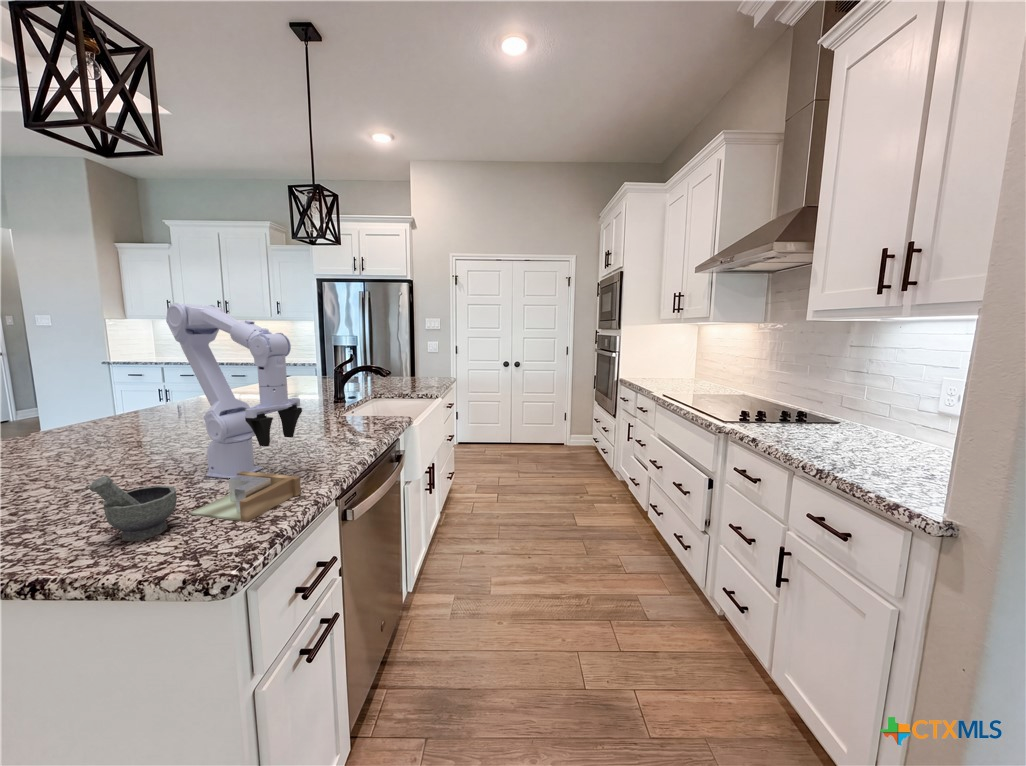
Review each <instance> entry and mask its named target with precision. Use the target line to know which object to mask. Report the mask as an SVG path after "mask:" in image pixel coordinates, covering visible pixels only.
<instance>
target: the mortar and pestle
mask: <svg viewBox="0 0 1026 766" xmlns="http://www.w3.org/2000/svg"><path fill="white" fill-rule="evenodd" d="M88 487H89V490H90V491H91V492H93V493H96V494H97V495H98V496H99V497H100V498H101V499H103V502H102V503H103V510H104V516H105V518H106V521H107V523H108V524H109V525H110V526H111V527H112V528H113V529H115V530H118V531H121V538H122V541H126V542H136V541H142V540H147V539H150V538H153V537H155V536H158V535H160V534H162V533H163V532H165V531H166V530H167V529H168V524H167V522H166V520H167V519H168V518H169V517H170V516H171V515H172V514H173V513H174V511H175V508H176V507H177V501H178V500H177V499H178V498H177V497H178V496H177V490H176V489H175V486H169V485H153V486H146V487H138V488H135V489H131V490H128V491H125V490H123V489H122V488H120V486H118V485H117V484H116V483H114V482H113V481H112V479H111V477H109V476H101V477H99V478H97V479H96V480H94V481H93V482H91V484H89V486H88Z"/></svg>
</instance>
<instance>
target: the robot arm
mask: <svg viewBox="0 0 1026 766" xmlns="http://www.w3.org/2000/svg"><path fill="white" fill-rule="evenodd" d="M166 323H167V324H166V325H167V326H168V328H169V329H170V332H171V333H172V336H173V338H174V340H175V341H176V342H178V343H179V345H180V348H181V350H182V352H183V353H184V355H185V357H186V359H187V361H188V363H189V365H190V367H191V369H192V371H193V373H194V375H195V377H196V379H197V382H198V383H199V386H200V387H201V389H202V391H203V394H204V395H205V398H206V399H207V402H208V403H209V405H210V408H208V410H207V411H206V412H205V413H204V416H203V420H204V422H205V425H206V432H207V435H208V437H209V438H210V439H211V441H210V442H209V444H208V446H207V448H206V449H207V450H206V456H207V457H206V458H207V465H208V466H207V467H208V472H207V473H206V474H205V476H206V477H210V478H211V477H212V478H220V479H221V478H222V479H229V478H232V477H235V476H237V473H239V472H242V471H245V472H256V473H257V472H259V471H261V470H262V469H264V466H261V465H260V466H259V465H255V460H254V458H255V457H254V446H253V438H254V437H255V438H256V440H257V442H258V444H259V447H269V446H270V444H271V427H272V422H273V420H274V417H271V416H267V415H268V414H272V413H276V412H277V413H278V416H279V418H280V421H281V425H282V426H281V428H282V434H283V437H284V438H294V436H295V430H296V427H297V422H298V419H299V417H300V416H301V414H302V412H303V408H302V407H300V406H301V398H297V397H292V398H289V393H288V379H287V377H288V375H287V363H286V357H288V355H290V352H291V348H292V344H291V341H290V338H289V337H287V335H285V334H284V333H283V332H276V333H272V332H271V331H269V329H268V328H266V327H261V326H259V325H257V324H255V321H254V320H252V319H245V320H240V321H239V320H237V319H236V318H235V317H233V316H230V315H229V314H227V313H225V312H224V311H223V307H218V306H217V305H216V304H215V305H214V304H209V305H202V304H190V303H189V304H188V303H187V304H185V303H178V302H173V303H171V304H170V305H169V307H168V309H167V311H166ZM219 330H220V331H223V332H225V333H227V334H229V335H230V338H231V340H232V341H233V342H235V343H236V344H238V345H240V346H242V347H244V348H246V349H247V350H249V351H250V354H251V355H252V357H253V363H254V364H255V367H257V377H258V378H257V379H258V391H259V392H258V393H259V401H260V402H259V404H257V405H254V406H252V407H250V405H249V403H248V402H245V401H243V400H240V399H238V398H236V396H235V394H234V392H233V391H232V389H231V387H230V385H229V383H228V381H227V379H226V377H225V375H224V373H223V371H222V369H221V367H220V366H219V364H218V361H217V359H216V358H215V356H214V353H213V351H212V350H211V347H210V343H211V342H213V341H215V340H216V338H217V335H218V333H219Z"/></svg>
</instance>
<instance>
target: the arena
mask: <svg viewBox="0 0 1026 766" xmlns="http://www.w3.org/2000/svg"><path fill="white" fill-rule="evenodd" d="M237 475H243V476H253V477H263V478H271V486H270V487H267V488H265V489H263V490H261V491H259V492H257V493H255V494H253V495H251V496H249V497H247V498H245V499H243V500H241V501H239V502H240V513H237V511H236V502H230V493H229V494H227V495H225V496H223V497H221V498H218V499H216V500H214V501H212V502H210V503H207V504H205V505H203V506H201V507H198V508H197V509H194V510H192V511H190V512H189V513H188V514H189V515H190V516H192V515H193V516H199V517H207V518H213V519H222V520H223V519H224V520H231V521H239V522H246V523H249V521H252V520H254V519H255V518H257V517H258V516H261V515H263V514H264V513H266V512H267V511H270V510H271V509H273V508H275V507H277V506H278V505H280V504H282V503H283V502H286V501H287V500H289V499H291V498H293V497H298V496H299V495H301V494H302V492H301V491H302V490H301V489H302V488H301V477H300V476H296V475H295V476H294V475H283V474H274V473H263V472H257V471H256V472H245V471H242V472H239V473H237Z"/></svg>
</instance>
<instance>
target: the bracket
mask: <svg viewBox="0 0 1026 766" xmlns="http://www.w3.org/2000/svg"><path fill="white" fill-rule="evenodd" d="M227 479H228V488H229V490H228V491H229V494H230V502H236V511H237V513H240V502H239V501H241V500H243V499H245V498H247V497H249V496H251V495H253V494H255V493H257V492H259V491H261V490H263V489H265V488H267V487H270V486H271V478H263V477H253V476H243V475H237V476H235V477H232V478H230V479H229V478H227Z"/></svg>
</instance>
